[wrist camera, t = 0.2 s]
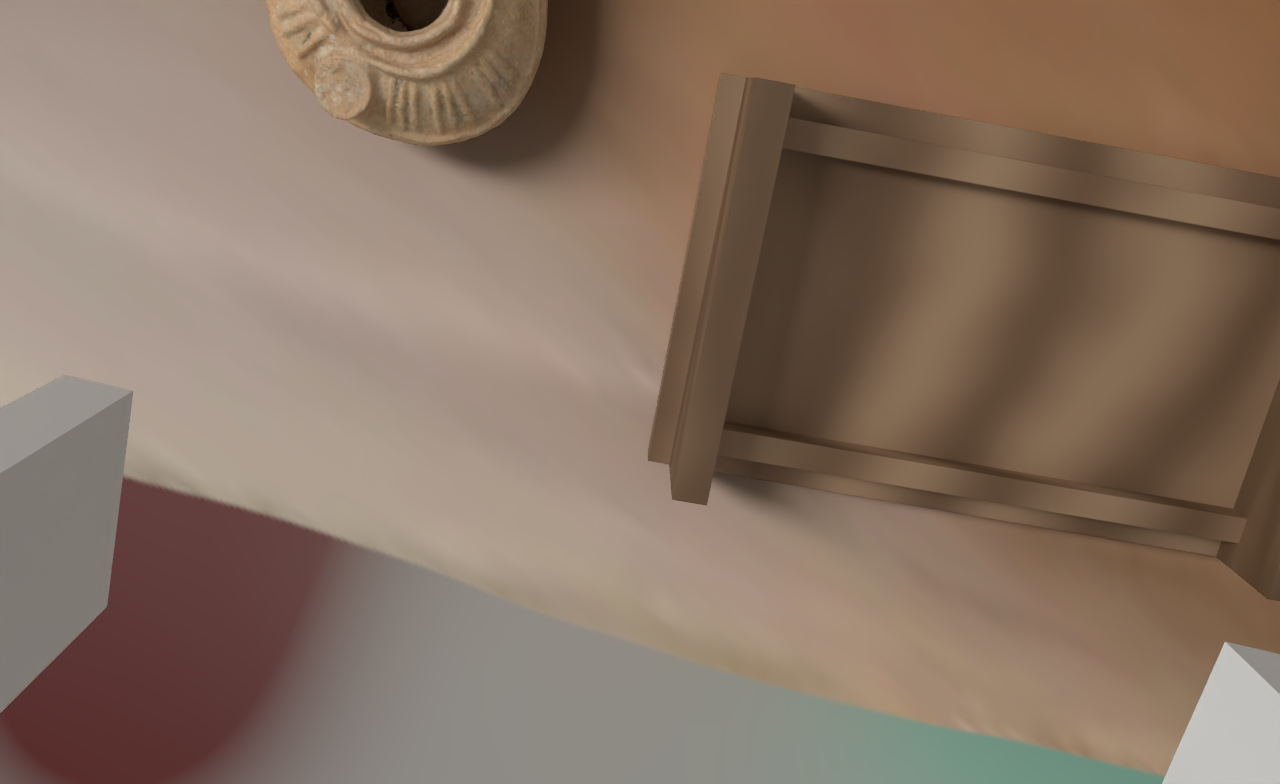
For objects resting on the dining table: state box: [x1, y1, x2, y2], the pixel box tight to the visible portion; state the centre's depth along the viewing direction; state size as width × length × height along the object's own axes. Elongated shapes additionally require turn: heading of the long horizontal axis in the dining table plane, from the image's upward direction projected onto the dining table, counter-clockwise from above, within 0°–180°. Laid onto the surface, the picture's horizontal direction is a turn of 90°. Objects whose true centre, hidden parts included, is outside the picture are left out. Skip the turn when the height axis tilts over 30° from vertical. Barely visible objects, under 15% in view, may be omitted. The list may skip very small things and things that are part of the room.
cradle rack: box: [648, 73, 1280, 601], centre depth 38 cm, size 24×14×4 cm, turn 80°
